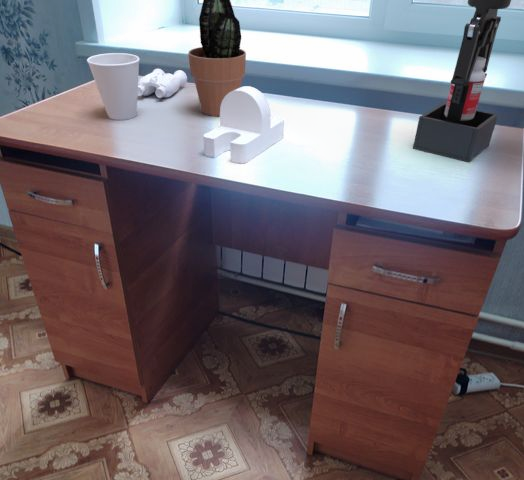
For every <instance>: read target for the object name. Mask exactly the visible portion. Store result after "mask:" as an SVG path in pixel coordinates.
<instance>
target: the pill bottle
mask: <svg viewBox="0 0 524 480" xmlns="http://www.w3.org/2000/svg"><path fill="white" fill-rule="evenodd" d="M485 63H486V59H485V58H483V57H477V59H476V62H475V65H474V68H473V71H472V74H471V77H470V80H469V84H468V85H469V90H468V93H467V97H466V101H465V105H464V109H463V112H462V116H461V120H460V121H467V120H471V119H473V118H474V115H475V112H476V110H478V109H477V108H478V105H479V102H480V97H481V94H482V91H483V87H484V84H485V81H486V78H485V73H486V72H485V73H484V72H483V71H482V69H483V68H484V66H485ZM460 77H461V76H460ZM454 86H455V84H451V83H450V87H449V92H448V96H447V99H446V103H445V104H446V108H445V113H444V114H445V116H446V117H447V115H448V110H449V106H450V102H451V98H452V94H453V90H454Z"/></svg>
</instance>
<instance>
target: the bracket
mask: <svg viewBox="0 0 524 480" xmlns="http://www.w3.org/2000/svg"><path fill="white" fill-rule="evenodd" d="M284 132H285V119H284V118H283V117H278V116H272V115H271V107H270V104H269V102H268V99H267V98H266V96H265V95H264V94H263V93H262V91H260V90H259V89H257V88H256V87H253V86H250V85H244V86H241V87H240V88H238V89H236V90H234V91H232V92H229V93H228V94H227V95H226V96H225V97H224V99H223V100H222V103H221V106H220V116H219V126H217V127H215V128H213V129H212V130H210V131H208V132H206V133H203V135H202V137H203V152H204V153H203V154H204V156H205V157H210V158H214V159H216V158H218V157H219V156H221V155H223V154H224V153H226V152H229V151H230V162H232V163H236V164H247V163H249V162H250V161H252V160H253V159H254V158H256V157H258V156H259V155H260V154H262V153H263V152H265V151H266V150H268V149H269V148H271V147H272V146H274V145H275V144H277V143H278V142H279V141H281V140H283V139H284V135H285V134H284Z"/></svg>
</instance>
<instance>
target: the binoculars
mask: <svg viewBox="0 0 524 480" xmlns="http://www.w3.org/2000/svg"><path fill="white" fill-rule="evenodd" d="M187 82H188V77H187V73H186V72H185V71H183V70H181V69H178V70H175V71H174V72H173V74H172V73H169V72H167V73H165V71H164V70H162V69H161V68H155V69H153V70H152V72H150V73H147V74H146V75H144V76H142V77H141V78H140V79H138V94H137V97H141V96H144V97H148V96H150V95H152V94H155V96H156V97H157V98H159V99H161V98H170V97H171V96H173V95H174V94H175V93H176V92H177V91H179V89H180V87H183V86H185V85H187Z"/></svg>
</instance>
